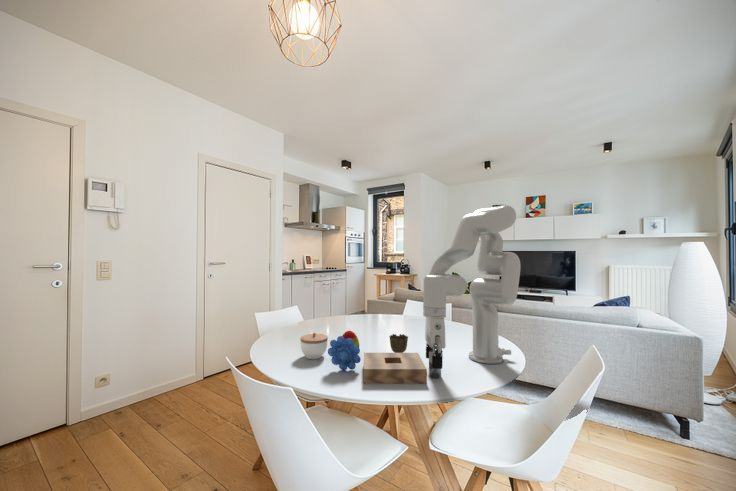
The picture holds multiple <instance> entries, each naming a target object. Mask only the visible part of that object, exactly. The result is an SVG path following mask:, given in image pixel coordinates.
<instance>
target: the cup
mask: <svg viewBox="0 0 736 491" xmlns="http://www.w3.org/2000/svg"><path fill="white" fill-rule="evenodd" d="M408 338H409V336H408V335H405V334H402V333H399V335H397V334H396V333H392V334H390V335H389V345H390V349H391V351H392V353H406V352H405V351H406V350H407V347H408Z"/></svg>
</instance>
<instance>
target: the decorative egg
mask: <svg viewBox="0 0 736 491" xmlns="http://www.w3.org/2000/svg"><path fill="white" fill-rule="evenodd" d="M342 336H343V337H344V338H345V341H346V339H348V338H350V339H352V340H353V341H354V345H355V346H358V347H359V348H360V342H359V341H360V340H359V338H358V336H357V334H356V333H355V332H354V331H352V330H346V331H345V332H344V333H343V334H342ZM354 345H353V346H354Z"/></svg>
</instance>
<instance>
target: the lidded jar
mask: <svg viewBox="0 0 736 491" xmlns="http://www.w3.org/2000/svg"><path fill="white" fill-rule="evenodd" d="M328 338H329V337H328V336H327V334H323V333H316V332H312V333H309V334H304V335H302V336H300V338H299V339H300V348H301V352H302V354H303V355H304V356H305V358H306V359H309V360H316V359H321V358H322V356H323V355H324V354H325V352H326V351H327V348H328Z"/></svg>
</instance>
